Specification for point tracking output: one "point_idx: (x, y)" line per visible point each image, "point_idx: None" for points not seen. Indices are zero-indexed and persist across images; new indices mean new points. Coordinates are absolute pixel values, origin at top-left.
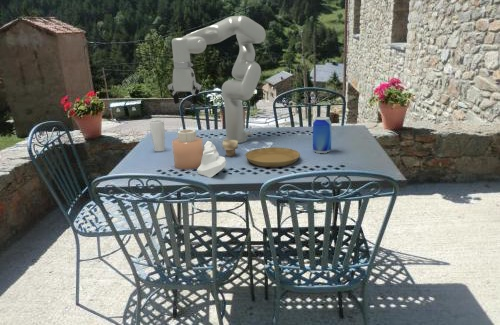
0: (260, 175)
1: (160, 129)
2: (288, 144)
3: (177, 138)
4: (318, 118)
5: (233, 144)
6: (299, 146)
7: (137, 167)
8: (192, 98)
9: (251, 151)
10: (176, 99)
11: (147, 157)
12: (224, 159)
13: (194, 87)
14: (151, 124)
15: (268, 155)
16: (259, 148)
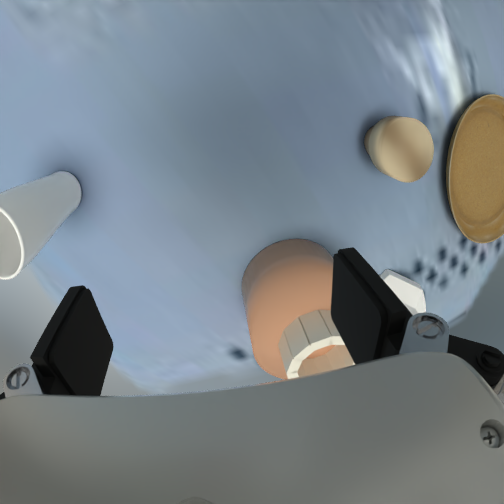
0: (472, 276)
1: (43, 239)
2: (472, 3)
3: (256, 336)
4: None
5: (424, 169)
6: (497, 27)
7: (157, 355)
8: (355, 361)
9: (452, 148)
10: (96, 364)
11: (96, 278)
12: (424, 301)
13: (439, 384)
14: (5, 273)
15: (475, 132)
16: (465, 115)
